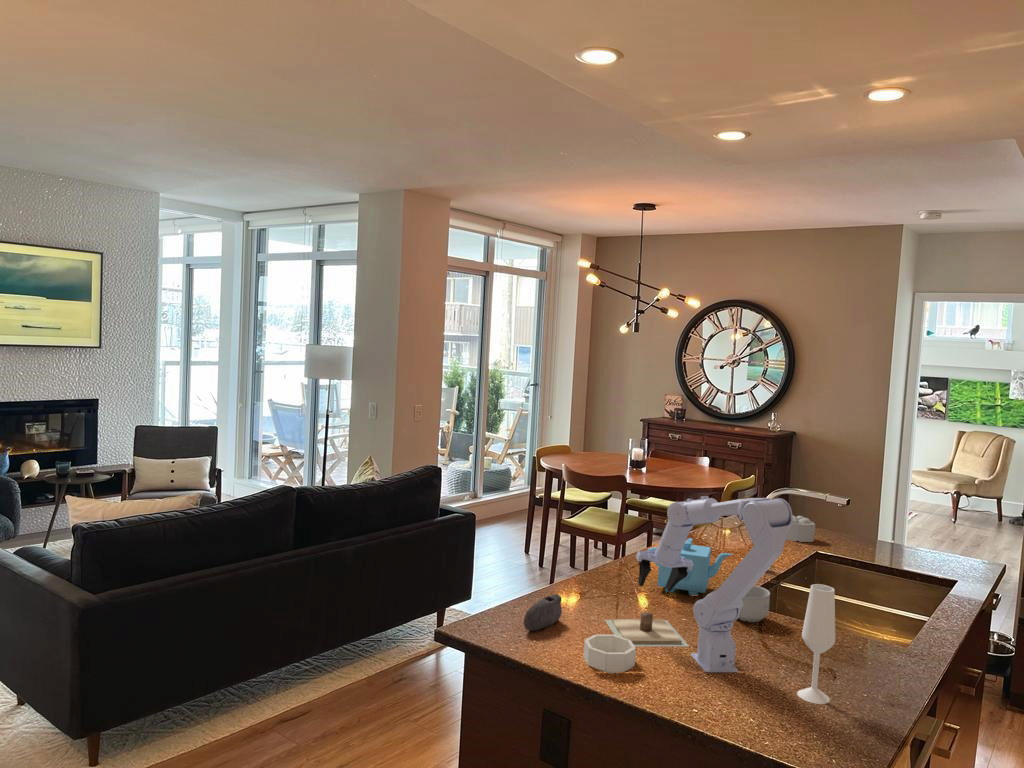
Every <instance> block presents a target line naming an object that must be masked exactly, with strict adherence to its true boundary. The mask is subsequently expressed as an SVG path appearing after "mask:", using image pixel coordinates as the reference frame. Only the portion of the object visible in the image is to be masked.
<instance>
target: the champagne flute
mask: <svg viewBox="0 0 1024 768" xmlns="http://www.w3.org/2000/svg"><path fill="white" fill-rule="evenodd" d="M808 594H809V595H808V600H807V605H806V612H805V615H804V621H803V626H802V632H801V637H802V640H803V642H804V643H805V645H806V646H807V647H808V649H809V650H810V651H812V652H813V665H812V673H811V675H812V676H811V686H810V687H807V688H803V689H800V690H798V691H797V692H796V695H797V696H798V697H799V698H800V699H802V700H803V701H805V702H808V703H812V704H817V705H824V704H828V703H829V702H830V701H831V699H830V697H829V695H827V694H825V693H824V692H823V691H822V690H820V689H819V688H818V680H819V672H820V671H819V668H820V659H821V658H820V657H821V654H824V653H826V652H827V651H829V650H830V649H831V648H832V647H833V646H834V645H835V643H836V604H835V603H836V602H835V599H836V598H835V597H836V596H835V595H836V594H835V588H834V587H831V586H829V585H825V584H822V583H821V584H820V583H816V584H811V585H810V588H809V593H808Z"/></svg>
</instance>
